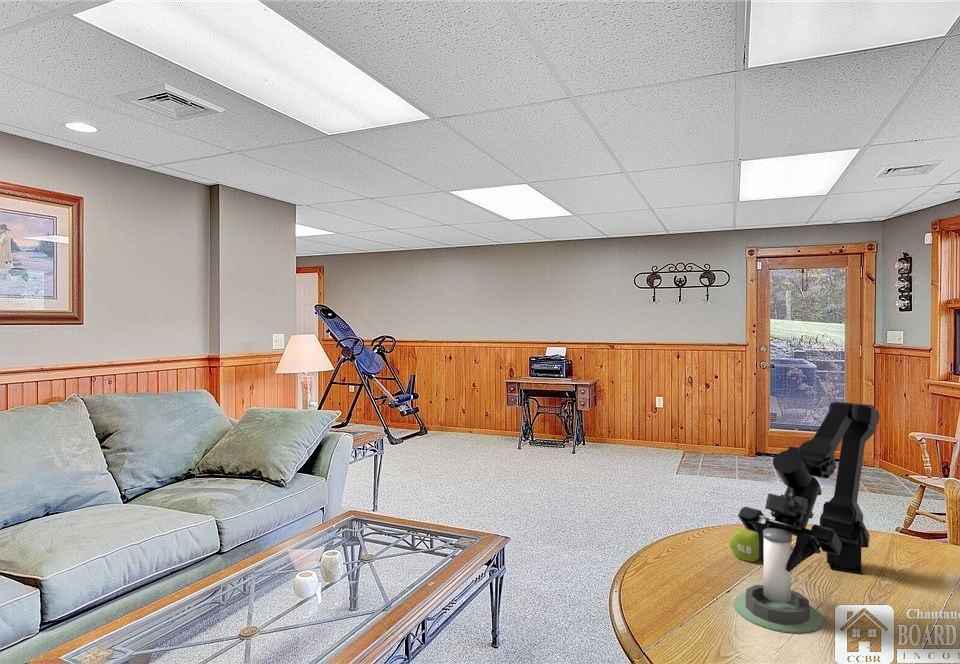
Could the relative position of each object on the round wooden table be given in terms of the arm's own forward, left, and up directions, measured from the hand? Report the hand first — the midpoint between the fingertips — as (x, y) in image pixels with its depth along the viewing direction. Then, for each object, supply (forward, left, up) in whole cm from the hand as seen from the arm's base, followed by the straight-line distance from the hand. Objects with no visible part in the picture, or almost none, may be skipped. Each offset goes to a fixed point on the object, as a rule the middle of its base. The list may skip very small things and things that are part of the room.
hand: (773, 566), depth 118 cm
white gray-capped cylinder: (-1, -1, -7) cm, 7 cm away
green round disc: (-1, -1, -10) cm, 10 cm away
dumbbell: (+5, -33, -10) cm, 34 cm away
